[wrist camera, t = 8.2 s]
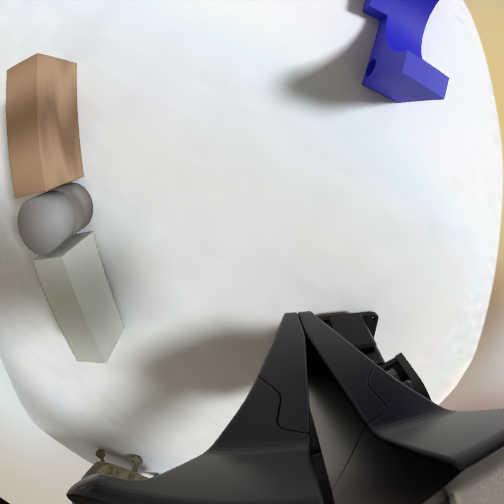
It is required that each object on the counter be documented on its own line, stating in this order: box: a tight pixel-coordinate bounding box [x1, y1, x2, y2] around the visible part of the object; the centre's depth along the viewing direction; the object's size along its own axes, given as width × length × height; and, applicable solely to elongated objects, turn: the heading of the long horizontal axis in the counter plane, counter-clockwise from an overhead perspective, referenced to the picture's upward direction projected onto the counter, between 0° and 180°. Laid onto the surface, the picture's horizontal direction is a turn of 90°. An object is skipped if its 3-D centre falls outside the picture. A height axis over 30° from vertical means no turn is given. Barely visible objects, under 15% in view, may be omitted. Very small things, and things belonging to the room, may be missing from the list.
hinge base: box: [6, 53, 93, 237], centre depth 15 cm, size 13×4×5 cm, turn 3°
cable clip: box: [362, 0, 449, 103], centre depth 12 cm, size 12×4×6 cm, turn 163°
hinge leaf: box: [18, 190, 125, 363], centre depth 19 cm, size 13×4×5 cm, turn 6°
